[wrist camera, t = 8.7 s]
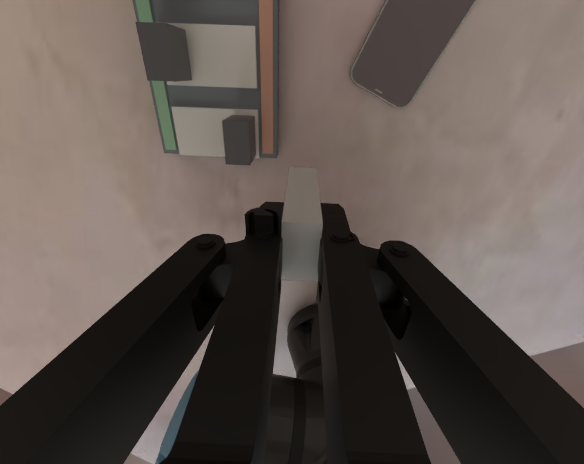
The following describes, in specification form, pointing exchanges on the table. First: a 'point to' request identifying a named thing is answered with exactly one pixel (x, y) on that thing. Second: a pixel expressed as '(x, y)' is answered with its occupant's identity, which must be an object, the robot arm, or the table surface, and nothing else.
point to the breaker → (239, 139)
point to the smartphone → (406, 46)
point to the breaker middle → (164, 51)
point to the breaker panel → (219, 73)
